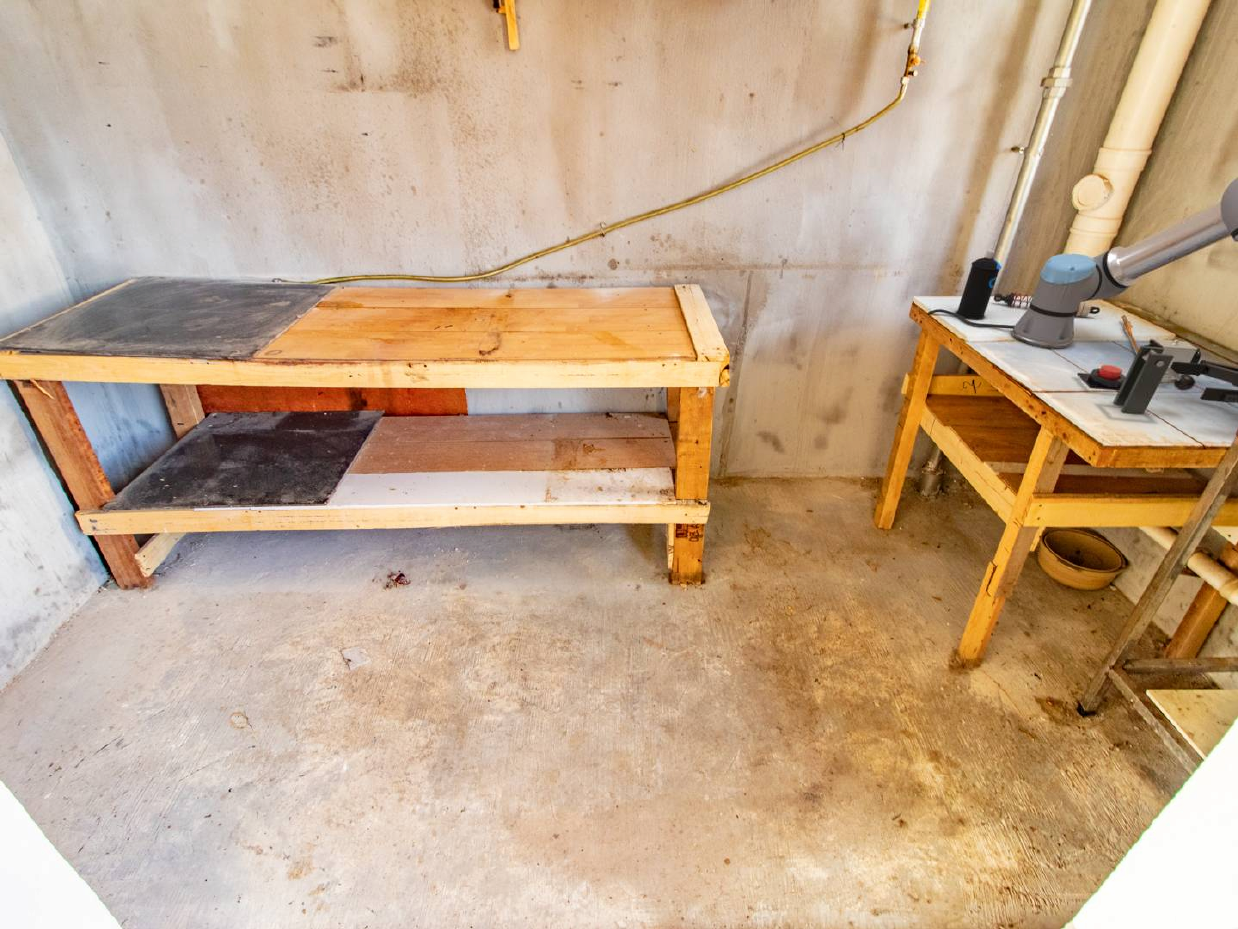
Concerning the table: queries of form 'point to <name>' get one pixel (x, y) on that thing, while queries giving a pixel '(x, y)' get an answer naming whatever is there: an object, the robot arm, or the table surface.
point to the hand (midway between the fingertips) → (1186, 379)
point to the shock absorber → (1081, 311)
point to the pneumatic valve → (1177, 352)
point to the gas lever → (1177, 377)
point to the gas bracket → (1142, 380)
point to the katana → (1129, 332)
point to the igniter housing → (1101, 380)
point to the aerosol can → (979, 287)
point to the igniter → (1110, 372)
